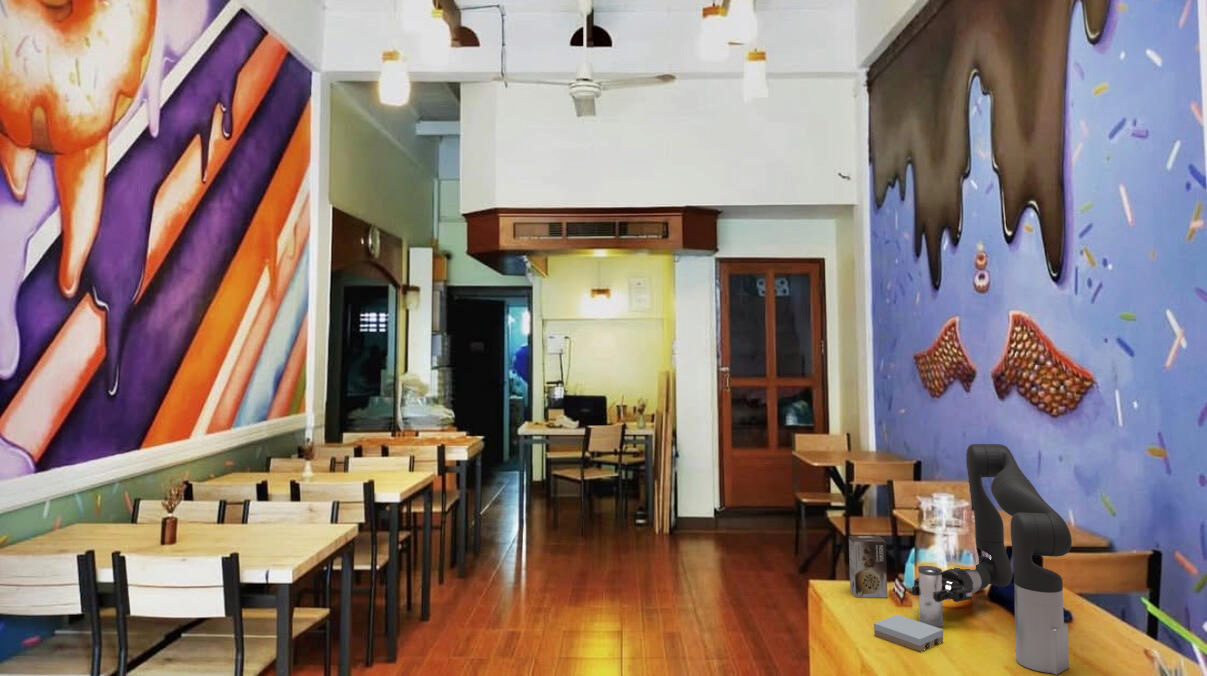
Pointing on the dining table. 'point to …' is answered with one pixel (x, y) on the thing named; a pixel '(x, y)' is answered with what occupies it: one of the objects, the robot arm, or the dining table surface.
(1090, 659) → the dining table surface
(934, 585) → the canister
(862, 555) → the coffee box
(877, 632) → the block
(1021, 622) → the robot arm
